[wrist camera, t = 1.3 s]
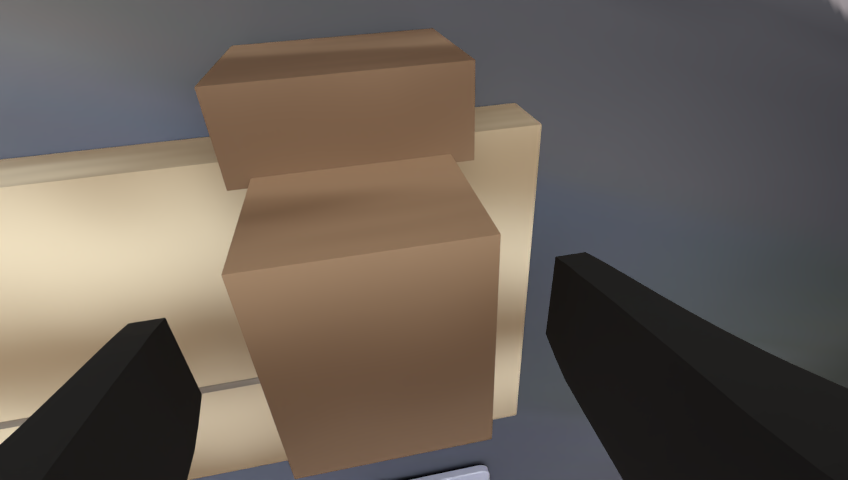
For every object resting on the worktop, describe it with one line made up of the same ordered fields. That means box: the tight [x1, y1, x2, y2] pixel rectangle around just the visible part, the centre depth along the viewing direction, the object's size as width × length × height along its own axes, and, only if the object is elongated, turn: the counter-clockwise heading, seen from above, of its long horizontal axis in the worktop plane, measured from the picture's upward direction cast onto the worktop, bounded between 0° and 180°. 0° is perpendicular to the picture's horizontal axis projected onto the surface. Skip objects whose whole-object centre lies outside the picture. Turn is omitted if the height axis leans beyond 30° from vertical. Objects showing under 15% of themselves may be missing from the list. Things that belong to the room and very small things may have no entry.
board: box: [0, 103, 542, 480], centre depth 15 cm, size 12×24×2 cm, turn 93°
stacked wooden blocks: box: [195, 28, 501, 479], centre depth 11 cm, size 10×5×7 cm, turn 3°
